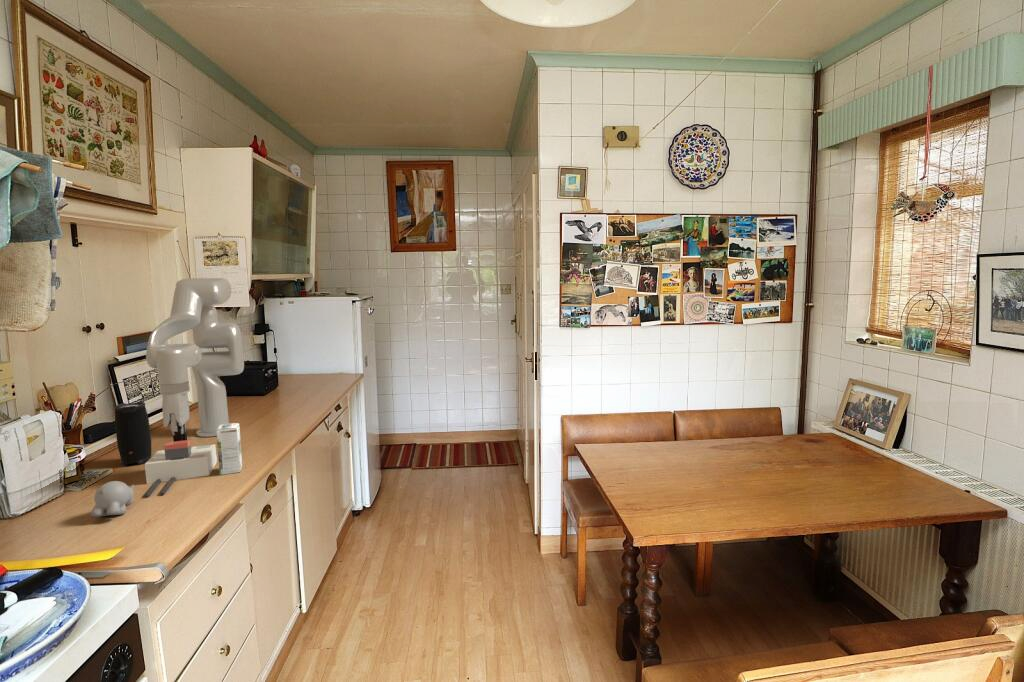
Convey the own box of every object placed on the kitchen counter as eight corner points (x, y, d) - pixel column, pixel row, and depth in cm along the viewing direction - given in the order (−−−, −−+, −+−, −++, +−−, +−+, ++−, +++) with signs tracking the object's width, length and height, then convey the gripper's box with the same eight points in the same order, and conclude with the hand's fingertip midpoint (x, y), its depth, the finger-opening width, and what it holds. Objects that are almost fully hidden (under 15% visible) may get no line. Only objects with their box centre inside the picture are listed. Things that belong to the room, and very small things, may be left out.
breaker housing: (159, 469, 158) (157, 450, 157) (217, 461, 164) (215, 444, 163) (146, 483, 147) (144, 464, 146) (208, 475, 152) (207, 456, 152)
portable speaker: (140, 467, 160) (133, 407, 157) (112, 467, 160) (104, 407, 158) (160, 457, 169) (153, 400, 166) (133, 457, 169) (126, 400, 166)
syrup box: (222, 469, 158) (217, 424, 156) (243, 465, 160) (239, 422, 158) (219, 475, 152) (215, 429, 150) (241, 472, 155) (237, 427, 153)
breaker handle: (168, 456, 152) (167, 442, 151) (191, 453, 154) (189, 439, 153) (165, 459, 149) (163, 445, 148) (188, 456, 151) (187, 442, 150)
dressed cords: (157, 482, 148) (156, 478, 148) (176, 480, 149) (175, 476, 149) (144, 498, 138) (143, 494, 137) (164, 495, 139) (164, 491, 139)
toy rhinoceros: (144, 512, 135) (149, 479, 137) (115, 516, 123) (120, 480, 126) (116, 513, 134) (121, 480, 136) (83, 517, 123) (89, 481, 125)
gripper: (167, 384, 157) (173, 440, 160) (152, 394, 144) (159, 455, 146) (195, 382, 160) (200, 437, 162) (182, 392, 146) (188, 452, 149)
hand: (181, 445), depth 154 cm, fingers closed
